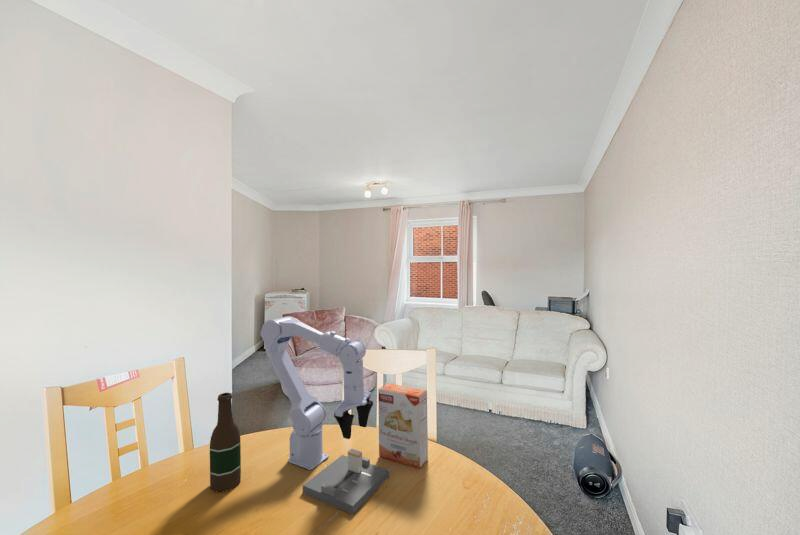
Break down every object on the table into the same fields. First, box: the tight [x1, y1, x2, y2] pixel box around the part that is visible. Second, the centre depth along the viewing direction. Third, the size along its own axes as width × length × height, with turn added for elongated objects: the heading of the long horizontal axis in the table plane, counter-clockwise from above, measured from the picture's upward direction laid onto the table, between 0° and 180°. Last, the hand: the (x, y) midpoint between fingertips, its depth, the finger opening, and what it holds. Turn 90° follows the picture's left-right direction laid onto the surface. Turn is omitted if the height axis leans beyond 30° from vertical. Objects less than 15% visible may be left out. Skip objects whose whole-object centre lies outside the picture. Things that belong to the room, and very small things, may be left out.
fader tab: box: [347, 448, 363, 473], centre depth 93 cm, size 4×2×5 cm, turn 61°
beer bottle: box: [209, 392, 242, 493], centre depth 91 cm, size 8×8×24 cm
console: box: [302, 454, 390, 515], centre depth 90 cm, size 16×16×4 cm
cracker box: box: [377, 383, 429, 469], centre depth 102 cm, size 14×6×21 cm, turn 61°
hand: (355, 432), depth 98 cm, fingers open, 7 cm apart
